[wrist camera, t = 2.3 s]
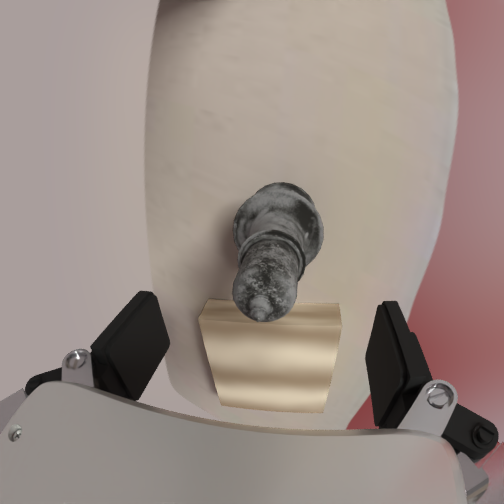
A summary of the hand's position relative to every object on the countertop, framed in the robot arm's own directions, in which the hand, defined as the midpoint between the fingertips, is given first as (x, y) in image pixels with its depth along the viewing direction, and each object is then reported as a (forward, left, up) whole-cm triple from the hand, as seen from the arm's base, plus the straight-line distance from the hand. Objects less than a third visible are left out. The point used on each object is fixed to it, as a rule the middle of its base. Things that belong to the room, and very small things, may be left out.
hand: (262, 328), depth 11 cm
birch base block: (+14, -1, -12) cm, 18 cm away
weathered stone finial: (-1, 0, -12) cm, 12 cm away
